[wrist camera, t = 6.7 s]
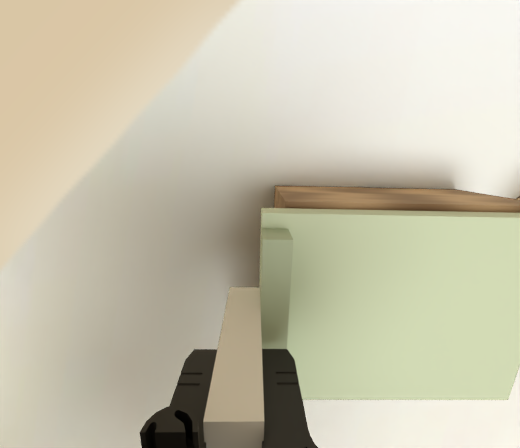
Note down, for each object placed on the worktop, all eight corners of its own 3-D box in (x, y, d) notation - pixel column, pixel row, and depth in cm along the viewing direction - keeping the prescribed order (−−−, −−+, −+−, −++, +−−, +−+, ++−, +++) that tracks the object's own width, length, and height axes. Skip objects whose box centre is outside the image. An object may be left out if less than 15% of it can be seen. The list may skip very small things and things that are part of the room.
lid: (257, 380, 15) (257, 429, 12) (261, 207, 12) (262, 222, 10) (488, 381, 15) (538, 429, 13) (541, 213, 13) (619, 228, 10)
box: (270, 312, 22) (276, 380, 15) (274, 185, 19) (285, 201, 13) (428, 313, 23) (502, 381, 16) (455, 189, 20) (559, 206, 13)
